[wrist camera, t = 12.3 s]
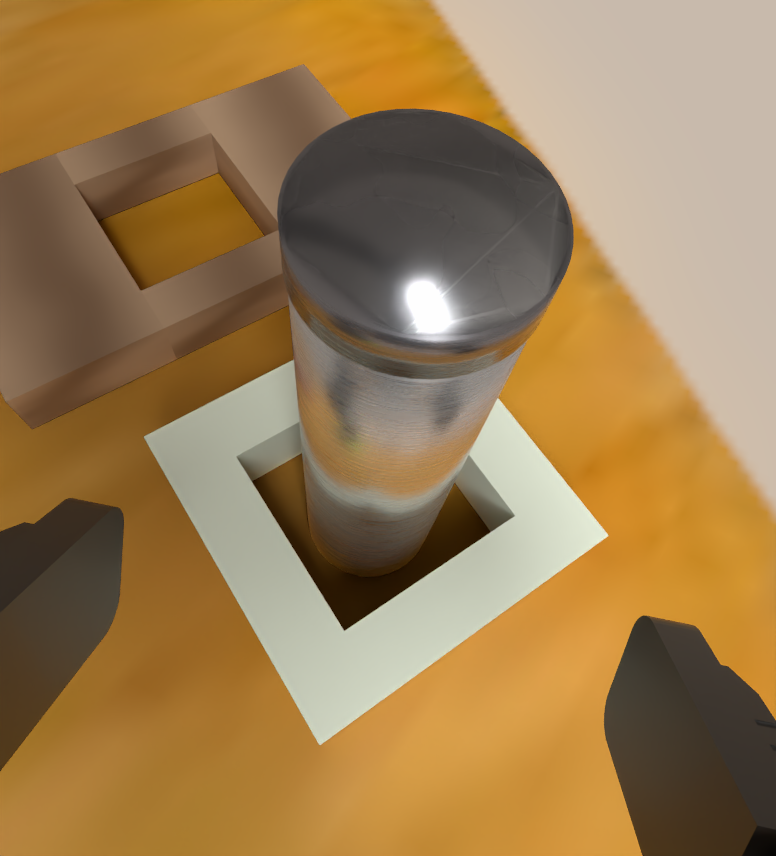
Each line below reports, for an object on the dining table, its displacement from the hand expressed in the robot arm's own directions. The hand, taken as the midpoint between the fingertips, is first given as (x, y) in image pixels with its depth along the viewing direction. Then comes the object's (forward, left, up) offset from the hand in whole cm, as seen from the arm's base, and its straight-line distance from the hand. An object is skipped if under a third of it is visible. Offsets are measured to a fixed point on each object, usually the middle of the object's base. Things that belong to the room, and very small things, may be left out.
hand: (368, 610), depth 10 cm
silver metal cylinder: (-4, +3, -11) cm, 12 cm away
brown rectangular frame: (-17, +3, -11) cm, 20 cm away
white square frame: (-4, +3, -11) cm, 12 cm away
